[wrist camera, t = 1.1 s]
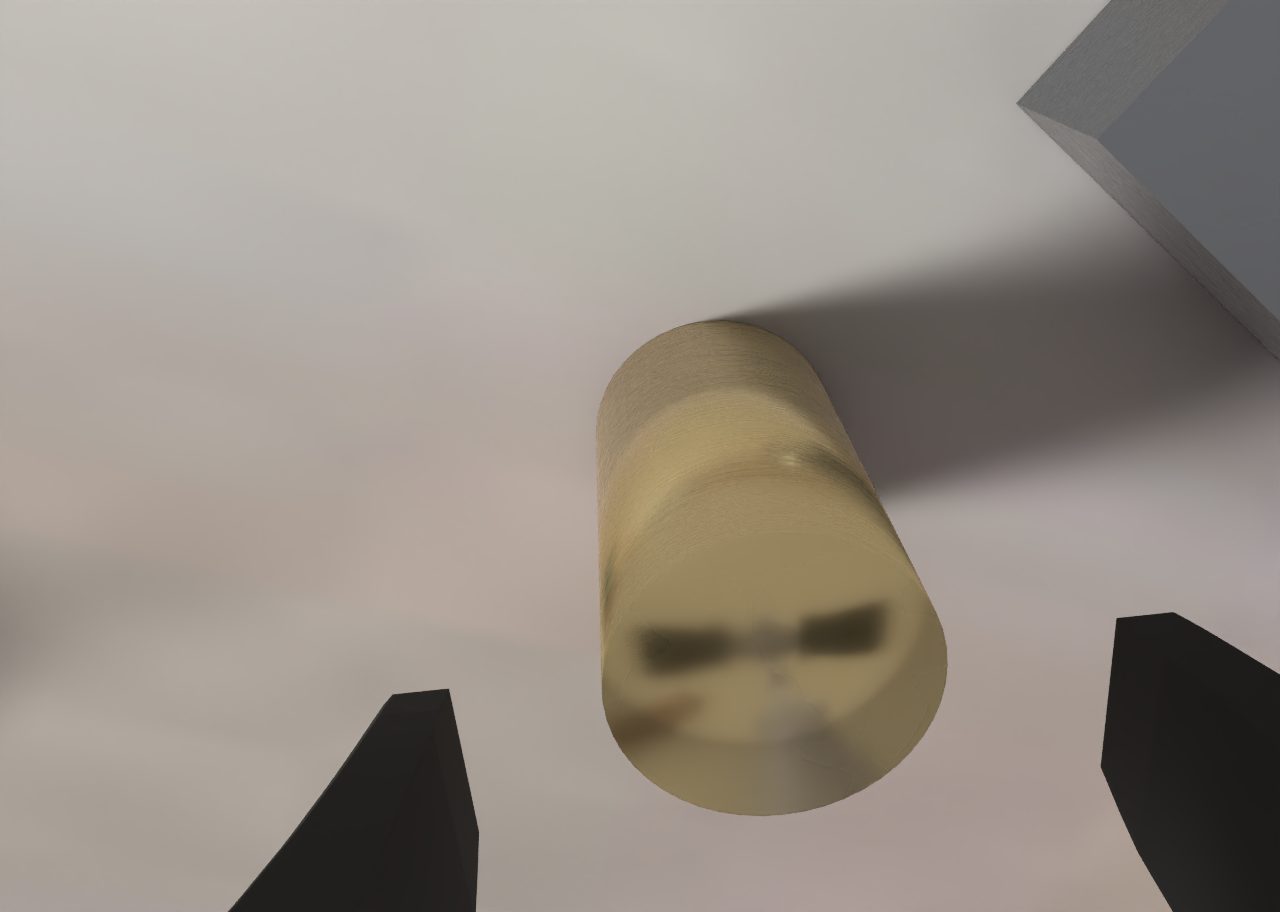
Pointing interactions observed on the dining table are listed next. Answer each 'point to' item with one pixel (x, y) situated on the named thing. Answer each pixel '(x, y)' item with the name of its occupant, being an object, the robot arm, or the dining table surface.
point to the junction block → (1183, 136)
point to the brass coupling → (752, 582)
